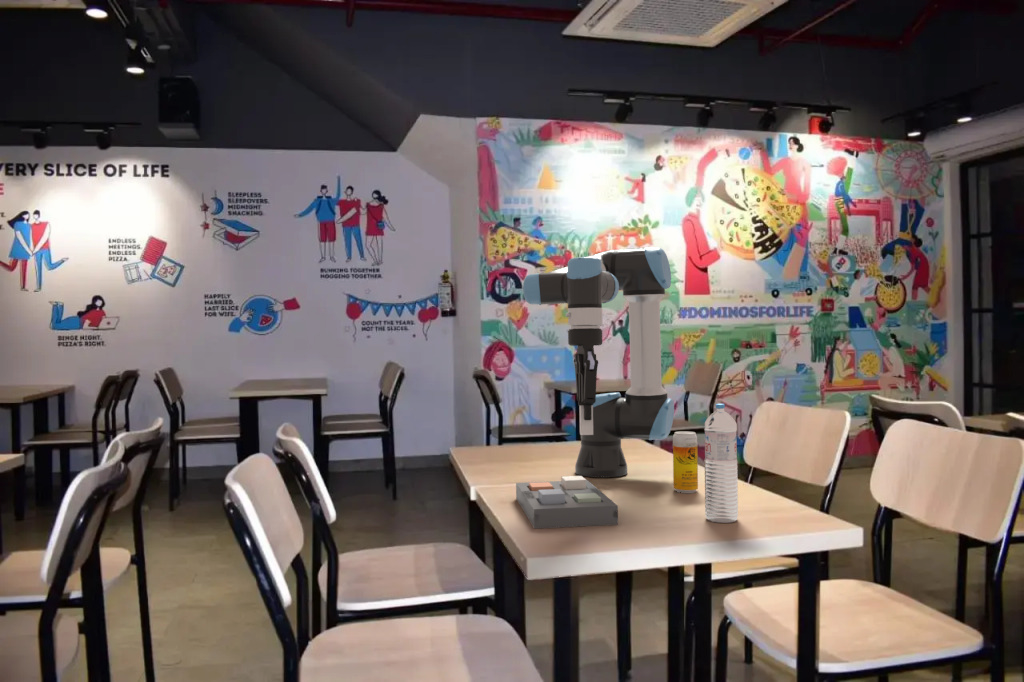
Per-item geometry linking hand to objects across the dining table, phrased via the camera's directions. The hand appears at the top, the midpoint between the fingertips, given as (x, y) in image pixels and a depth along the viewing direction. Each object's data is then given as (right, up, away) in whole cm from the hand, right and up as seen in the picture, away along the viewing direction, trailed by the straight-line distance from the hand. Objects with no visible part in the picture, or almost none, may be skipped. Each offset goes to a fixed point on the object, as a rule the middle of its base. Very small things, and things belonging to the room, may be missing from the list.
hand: (586, 434), depth 160 cm
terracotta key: (-10, -17, +13) cm, 23 cm away
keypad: (-5, -18, +6) cm, 20 cm away
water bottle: (+29, -18, -3) cm, 34 cm away
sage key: (0, -17, 0) cm, 17 cm away
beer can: (+28, -18, +26) cm, 42 cm away
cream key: (-2, -15, +14) cm, 21 cm away
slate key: (-8, -15, -1) cm, 17 cm away
